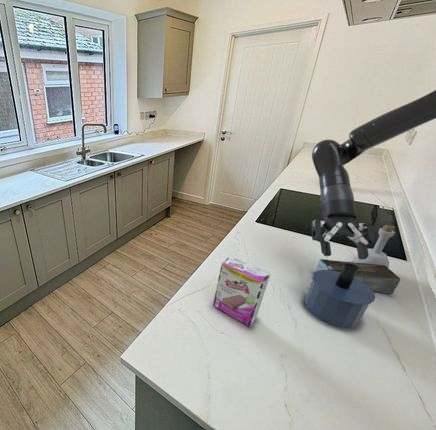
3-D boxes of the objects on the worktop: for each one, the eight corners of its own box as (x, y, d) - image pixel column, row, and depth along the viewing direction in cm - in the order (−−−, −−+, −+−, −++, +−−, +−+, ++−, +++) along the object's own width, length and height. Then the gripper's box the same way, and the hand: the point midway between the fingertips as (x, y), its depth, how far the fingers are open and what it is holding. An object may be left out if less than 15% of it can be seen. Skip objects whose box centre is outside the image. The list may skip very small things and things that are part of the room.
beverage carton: (313, 271, 92) (319, 256, 89) (377, 278, 88) (386, 263, 85) (323, 286, 85) (331, 270, 82) (394, 295, 81) (404, 279, 78)
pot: (363, 311, 76) (376, 288, 72) (352, 336, 69) (366, 311, 65) (312, 289, 85) (321, 266, 81) (298, 308, 77) (307, 285, 73)
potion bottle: (360, 275, 90) (383, 230, 82) (346, 260, 97) (366, 217, 89) (390, 279, 88) (417, 233, 80) (374, 263, 96) (397, 219, 87)
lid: (378, 289, 72) (390, 267, 69) (367, 315, 64) (380, 292, 61) (319, 266, 81) (328, 246, 78) (304, 286, 74) (312, 265, 70)
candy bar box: (211, 306, 79) (220, 262, 71) (219, 298, 82) (228, 255, 75) (249, 329, 71) (263, 282, 64) (257, 318, 74) (271, 273, 67)
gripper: (317, 196, 75) (324, 252, 70) (375, 199, 72) (386, 257, 67) (303, 205, 82) (309, 257, 77) (355, 208, 79) (364, 262, 74)
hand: (345, 257), depth 72 cm, fingers open, 8 cm apart
